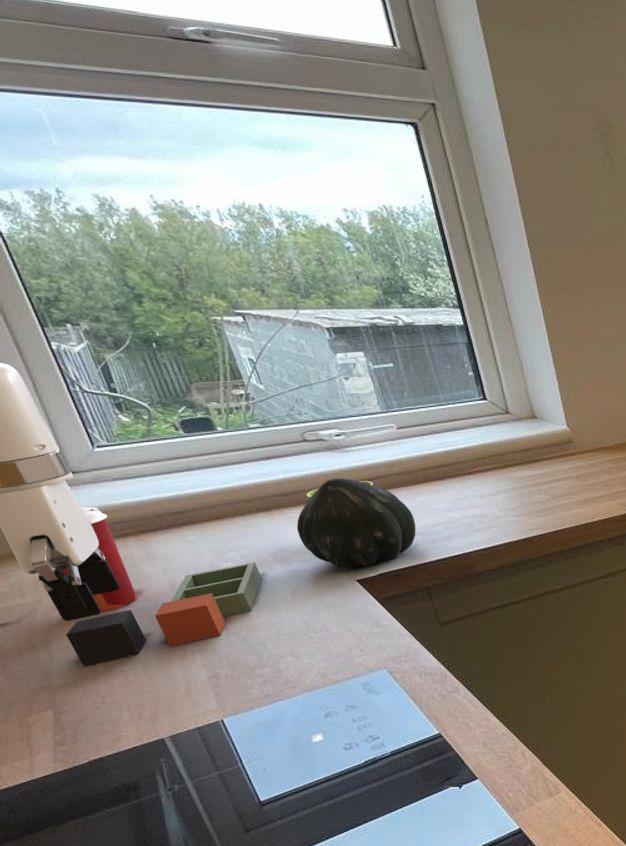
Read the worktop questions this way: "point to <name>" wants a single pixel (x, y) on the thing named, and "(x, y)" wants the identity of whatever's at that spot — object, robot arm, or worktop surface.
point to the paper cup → (110, 563)
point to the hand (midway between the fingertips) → (94, 604)
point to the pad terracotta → (190, 619)
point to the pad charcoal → (106, 637)
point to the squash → (355, 524)
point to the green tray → (224, 587)
